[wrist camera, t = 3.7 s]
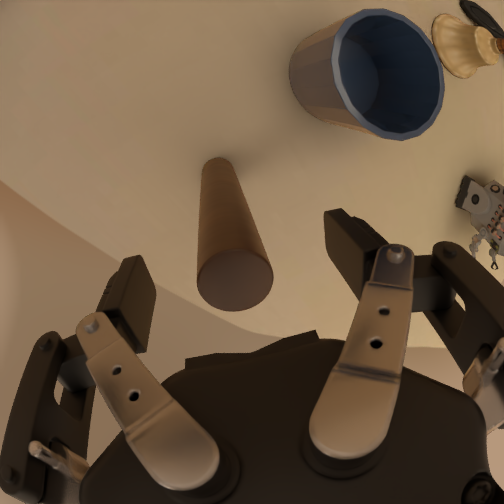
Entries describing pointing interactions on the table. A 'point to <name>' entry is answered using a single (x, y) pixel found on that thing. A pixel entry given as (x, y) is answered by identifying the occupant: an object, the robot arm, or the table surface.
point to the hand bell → (464, 45)
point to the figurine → (484, 214)
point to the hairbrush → (482, 18)
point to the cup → (370, 75)
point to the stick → (229, 243)
